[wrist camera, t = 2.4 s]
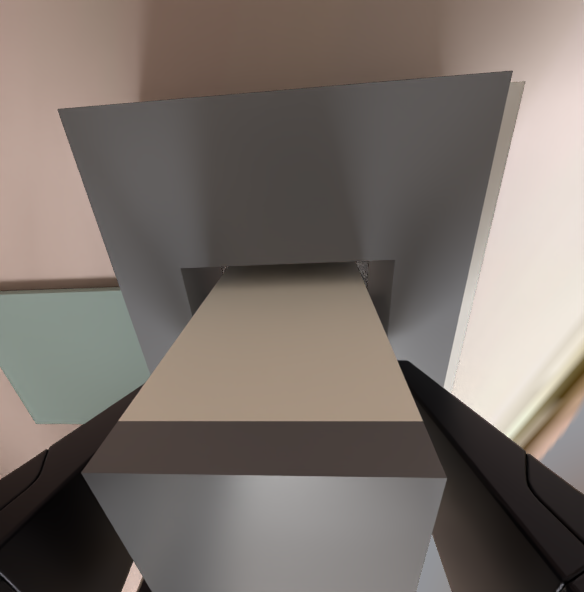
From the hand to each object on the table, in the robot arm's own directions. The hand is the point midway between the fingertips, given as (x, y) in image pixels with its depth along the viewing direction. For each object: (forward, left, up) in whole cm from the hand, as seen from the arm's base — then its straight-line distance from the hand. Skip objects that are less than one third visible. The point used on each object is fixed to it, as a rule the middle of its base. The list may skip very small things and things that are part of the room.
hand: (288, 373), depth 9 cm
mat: (-3, +11, -4) cm, 12 cm away
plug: (0, 0, -5) cm, 5 cm away
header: (0, 0, -4) cm, 4 cm away
